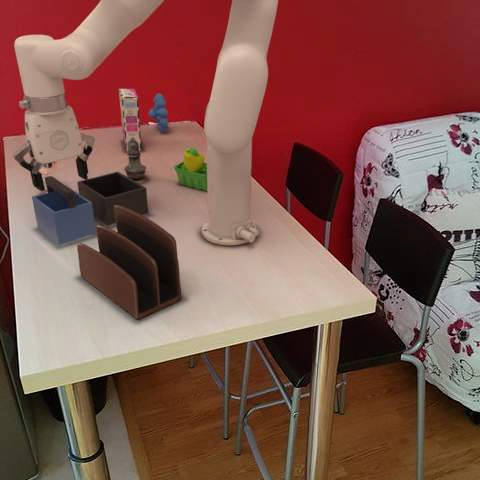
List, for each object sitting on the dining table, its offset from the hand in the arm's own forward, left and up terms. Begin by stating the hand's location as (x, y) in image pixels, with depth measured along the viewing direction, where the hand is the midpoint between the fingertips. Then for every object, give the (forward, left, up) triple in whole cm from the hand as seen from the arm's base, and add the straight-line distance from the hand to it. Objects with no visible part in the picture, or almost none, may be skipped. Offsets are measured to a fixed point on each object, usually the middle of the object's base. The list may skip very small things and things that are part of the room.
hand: (62, 183), depth 123 cm
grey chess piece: (+17, -28, -12) cm, 35 cm away
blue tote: (+1, +1, -12) cm, 12 cm away
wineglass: (+22, -6, -12) cm, 26 cm away
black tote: (+3, -13, -12) cm, 18 cm away
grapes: (+50, -57, -12) cm, 77 cm away
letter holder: (-29, +2, -12) cm, 31 cm away
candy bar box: (+42, -42, -12) cm, 61 cm away
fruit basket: (+4, -39, -12) cm, 41 cm away
